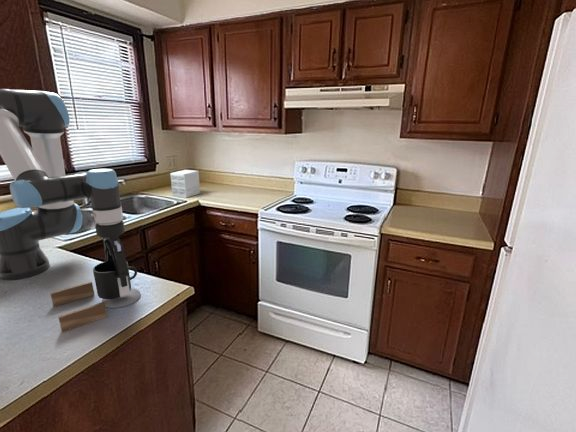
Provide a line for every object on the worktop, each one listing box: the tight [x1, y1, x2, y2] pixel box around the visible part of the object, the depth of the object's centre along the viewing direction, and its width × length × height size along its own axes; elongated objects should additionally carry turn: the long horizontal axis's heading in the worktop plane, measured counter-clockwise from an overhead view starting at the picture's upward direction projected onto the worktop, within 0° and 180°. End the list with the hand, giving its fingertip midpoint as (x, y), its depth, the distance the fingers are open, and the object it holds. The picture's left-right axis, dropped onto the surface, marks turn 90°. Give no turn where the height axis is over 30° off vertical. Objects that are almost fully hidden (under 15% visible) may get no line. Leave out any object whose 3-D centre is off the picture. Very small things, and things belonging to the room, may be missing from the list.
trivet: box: [101, 287, 141, 309], centre depth 101 cm, size 11×11×1 cm
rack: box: [50, 281, 108, 333], centre depth 94 cm, size 17×11×4 cm, turn 42°
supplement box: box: [169, 169, 201, 199], centre depth 239 cm, size 17×13×18 cm
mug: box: [92, 260, 138, 300], centre depth 99 cm, size 9×12×9 cm
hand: (120, 288), depth 100 cm, fingers closed on mug, 9 cm apart
